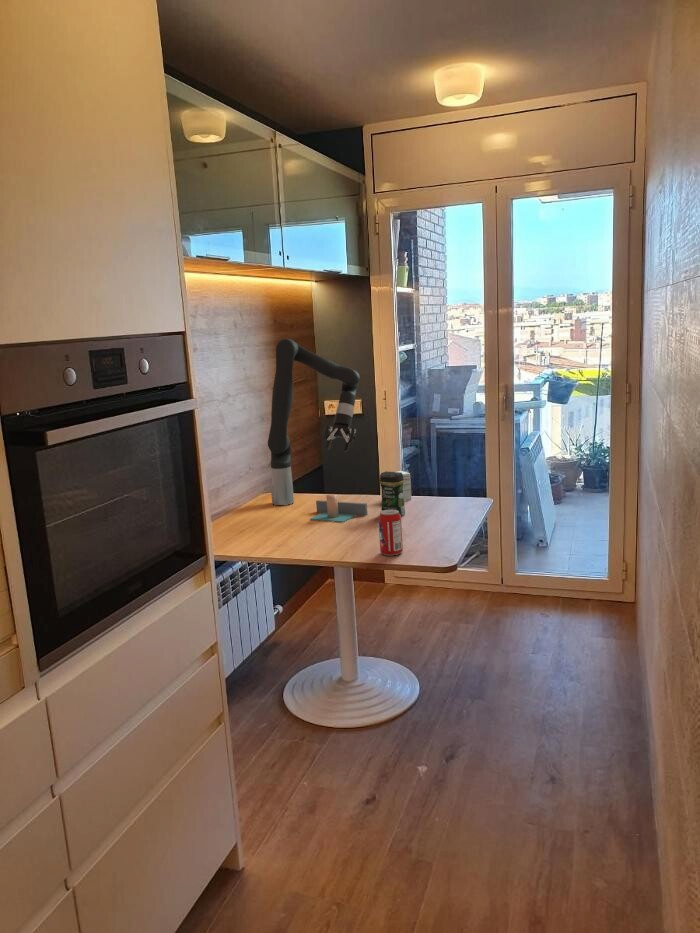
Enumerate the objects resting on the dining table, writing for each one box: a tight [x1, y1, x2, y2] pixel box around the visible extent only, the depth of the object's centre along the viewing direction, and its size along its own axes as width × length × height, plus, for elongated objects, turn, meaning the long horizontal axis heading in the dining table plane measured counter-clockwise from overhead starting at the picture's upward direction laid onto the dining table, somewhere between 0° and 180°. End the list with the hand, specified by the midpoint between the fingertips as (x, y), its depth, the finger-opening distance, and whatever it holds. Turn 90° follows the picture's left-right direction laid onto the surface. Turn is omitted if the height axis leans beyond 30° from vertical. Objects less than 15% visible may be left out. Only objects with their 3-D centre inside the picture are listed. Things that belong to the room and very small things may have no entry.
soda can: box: [378, 509, 404, 557], centre depth 252 cm, size 8×8×15 cm
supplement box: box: [396, 470, 412, 502], centre depth 329 cm, size 7×7×13 cm
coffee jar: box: [379, 470, 406, 518], centre depth 302 cm, size 10×8×19 cm
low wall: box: [315, 499, 368, 517], centre depth 313 cm, size 24×2×5 cm, turn 61°
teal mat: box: [309, 512, 357, 523], centre depth 307 cm, size 16×11×1 cm
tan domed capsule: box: [325, 493, 339, 518], centre depth 306 cm, size 4×4×9 cm
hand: (337, 450), depth 321 cm, fingers open, 8 cm apart
